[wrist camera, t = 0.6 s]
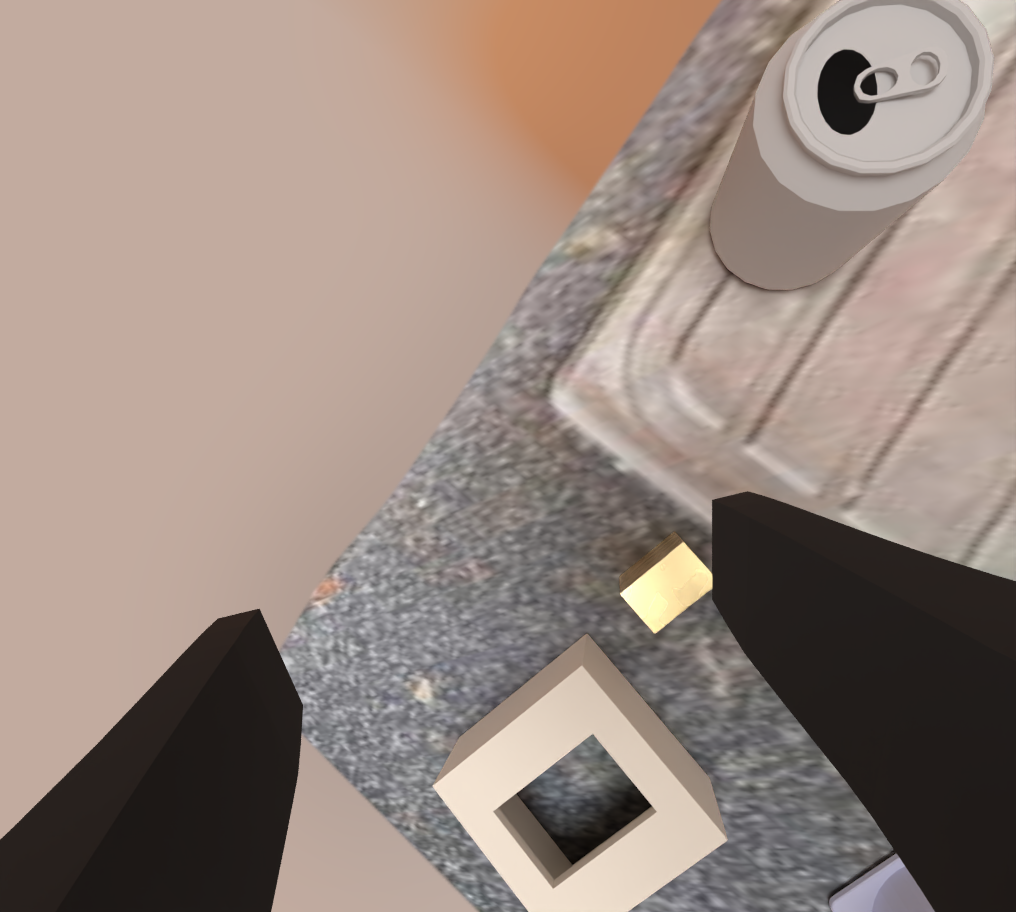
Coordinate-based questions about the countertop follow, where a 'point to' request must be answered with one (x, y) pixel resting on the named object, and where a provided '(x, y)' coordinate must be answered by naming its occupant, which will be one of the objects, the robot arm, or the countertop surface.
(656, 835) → the box
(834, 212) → the can
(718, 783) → the countertop surface
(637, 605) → the block
